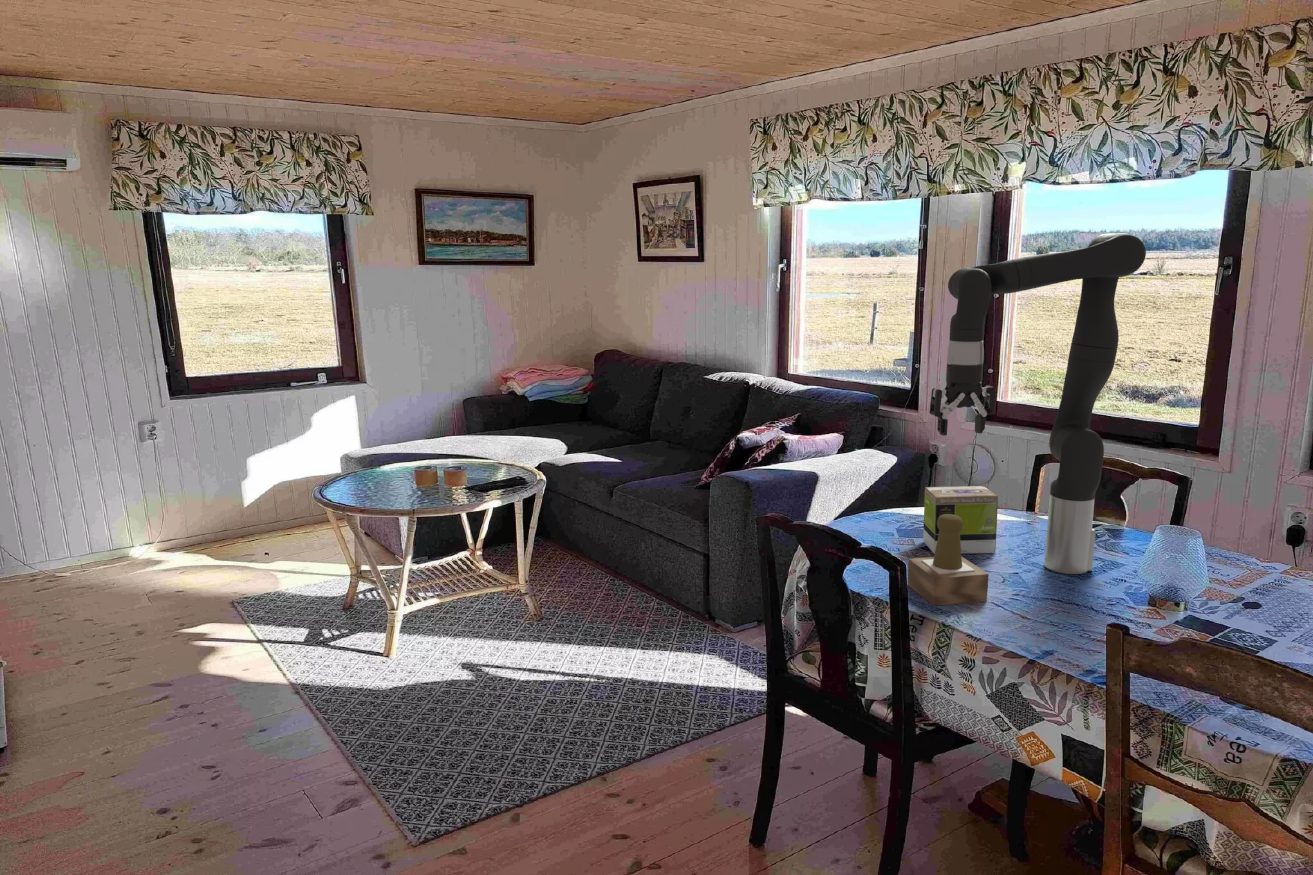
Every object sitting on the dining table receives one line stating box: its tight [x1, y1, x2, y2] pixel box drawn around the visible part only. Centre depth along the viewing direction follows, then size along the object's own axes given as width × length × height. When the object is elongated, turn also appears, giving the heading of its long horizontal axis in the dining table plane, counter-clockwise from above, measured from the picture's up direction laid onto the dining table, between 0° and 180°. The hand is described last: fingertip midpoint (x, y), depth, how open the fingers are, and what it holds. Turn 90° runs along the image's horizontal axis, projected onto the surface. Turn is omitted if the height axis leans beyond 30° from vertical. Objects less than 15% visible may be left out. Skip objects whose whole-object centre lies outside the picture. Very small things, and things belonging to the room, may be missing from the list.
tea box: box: [922, 485, 999, 555], centre depth 215 cm, size 15×10×15 cm, turn 89°
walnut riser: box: [907, 556, 990, 607], centre depth 188 cm, size 12×12×6 cm
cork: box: [933, 514, 963, 570], centre depth 186 cm, size 6×6×11 cm
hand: (960, 433), depth 195 cm, fingers open, 8 cm apart
